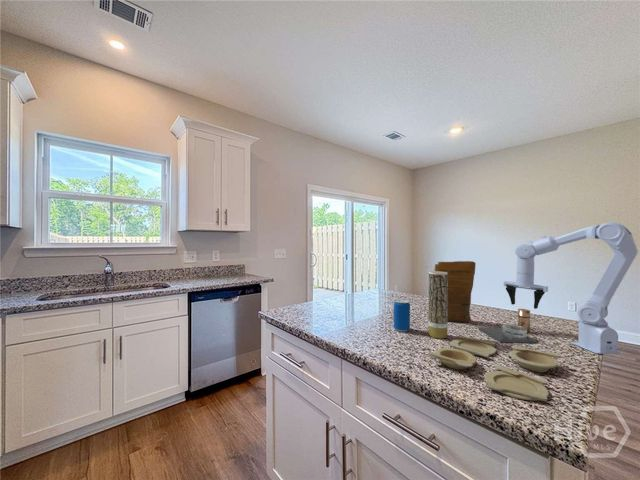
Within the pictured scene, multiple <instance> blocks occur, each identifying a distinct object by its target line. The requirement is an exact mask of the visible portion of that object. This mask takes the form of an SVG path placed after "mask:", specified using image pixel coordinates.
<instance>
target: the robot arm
mask: <svg viewBox="0 0 640 480" xmlns="http://www.w3.org/2000/svg"><path fill="white" fill-rule="evenodd" d="M585 239H592V240H593V239H595V240H597V239H600V240H601V241H603V242H604V243H605V244H607V245H608V246H609V247H610V248H611V250H612V251H613V253H614V254H613V255H612V257H611V259H610V261H609V262H608V264H607V267H606V268H605V270H604V272H603V274H602V275H601V277H600V279H599V281H598V283H597V284H596V286H595V287H594V289H593V292H592V294H591V295H590V297H589V298H587V301H586V303H585V304H583V305H582V306H579V307H578V309H577V316H578V327H577V328H578V329H577V331H578V338H577V339H578V340H577V341H571V344H573V345H575V346H577V347H580V348H582V349H585V350H587V351H590V352H592V353H595V354H598V355H621V354H622V353H621V352H620V351H619V334H618V331H617V330H615V329H613V328H611V327H610V326H609V323H608V322H607V320H606V319H605V318H606V317H607V316H608V315H609V310H608V306H609V305H610V303H611V300H612V299H613V297H614V295H615V293H616V291H617V289H618V288H619V286H620V284H621V283H622V281H623V279H624V278H625V277H626V276H625V275H626V274H627V272H628V271H629V269H630V267H631V265H632V264H633V262H634V261H635V259H636V256H637V255H638V252H639V251H638V248H637V245H636V243H635V239H634V237H633V233H632V232H631V231H630V230H629V229H628V227H626V226H625V225H623V224H621V223H617V222H612V221H609V222H604V223H601V224H597V225H592V226H588V227H587V226H586V227H583V228H581V229H578V230H575V231H572V232H569V233H567V234H564V235H560V236H557V237H553V236H551V235H550V236H546V235H544V236H541V237H540V239H537V240H536V239H535V240H533V241H531V240H529V241H527V243H521V244H520V245H517V246H516V248H515V250H514V251H515V253H514V254H515V255H516V257H517V258H516V281H505V280H504V281H503V287H505V290H506V292H507V294H508V296H509V299H510V304H511V305H515V304H516V292H517V289H518V288H519V289H525V290H531V291H533V297H534V298H533V299H534V300H533V301H534V302H533V303H534V304H533V308H534V310H536V309H538V308H539V304H540V301H541V299H542V298H543V296H544V295H545V293H547V292H549V286H544V285H538V284H535V283H534V281H535V257H537V256H540V255H543V254H546V253H548V254H549V253H551V252H555V251H557V250H558V249H559V248H560V246H562V245H566V244H570V243H574V242H578V241H581V240H585Z"/></svg>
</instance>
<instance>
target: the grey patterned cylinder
mask: <svg viewBox="0 0 640 480" xmlns="http://www.w3.org/2000/svg"><path fill="white" fill-rule="evenodd" d="M447 317H448V273H447V272H440V271H434V270H431V271H428V328H427V329H428V332H427V333H428V335H429V336H430V337H432V338H433V339H446V338H448V322H447Z"/></svg>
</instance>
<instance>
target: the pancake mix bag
mask: <svg viewBox="0 0 640 480" xmlns="http://www.w3.org/2000/svg"><path fill="white" fill-rule="evenodd" d="M476 266H477V265H476V261H473V260H472V261H471V260H470V261H469V260H467V261H466V260H464V261H462V260H457V261H437V263H435V265H434V269H433V271H440V272H447V273H448V317H447V323H450V322H453V323H469V322H471V321H472V318H471V312H470V309H471V303H472V291H473V287H474V279H475V273H476Z"/></svg>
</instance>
